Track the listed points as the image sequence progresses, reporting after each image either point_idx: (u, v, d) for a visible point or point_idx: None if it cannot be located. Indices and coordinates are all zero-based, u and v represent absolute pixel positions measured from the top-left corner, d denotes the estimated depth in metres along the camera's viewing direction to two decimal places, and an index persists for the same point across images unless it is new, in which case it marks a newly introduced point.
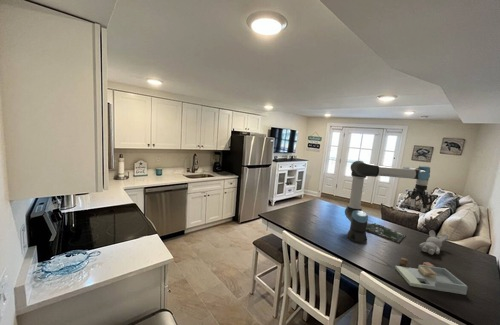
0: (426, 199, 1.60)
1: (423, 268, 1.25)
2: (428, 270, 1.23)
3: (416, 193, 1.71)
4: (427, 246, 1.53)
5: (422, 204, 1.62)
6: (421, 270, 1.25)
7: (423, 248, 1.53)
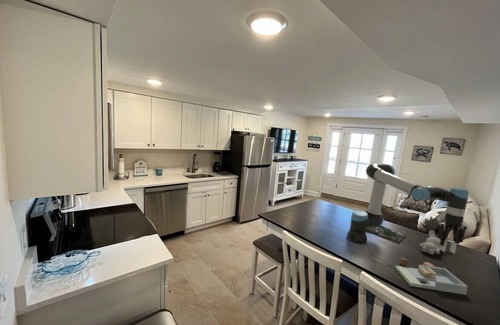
0: (439, 232, 1.20)
1: (423, 268, 1.25)
2: (428, 270, 1.23)
3: None
4: (427, 246, 1.53)
5: None
6: (421, 270, 1.25)
7: (423, 248, 1.53)
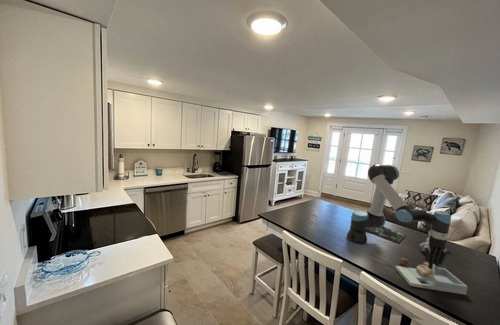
0: (426, 256, 1.23)
1: (421, 268, 1.25)
2: (426, 270, 1.24)
3: None
4: None
5: None
6: (419, 270, 1.25)
7: (423, 248, 1.53)
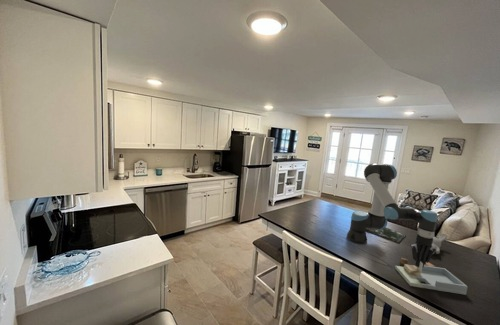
0: (413, 254, 1.24)
1: (408, 266, 1.26)
2: (413, 268, 1.25)
3: None
4: None
5: None
6: (406, 268, 1.26)
7: None
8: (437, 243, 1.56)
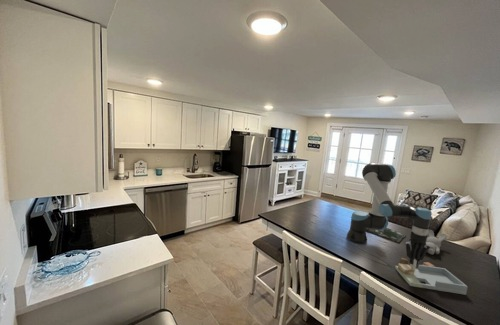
0: (407, 251, 1.25)
1: (402, 265, 1.27)
2: (407, 267, 1.25)
3: None
4: None
5: None
6: (400, 267, 1.26)
7: None
8: (437, 243, 1.56)
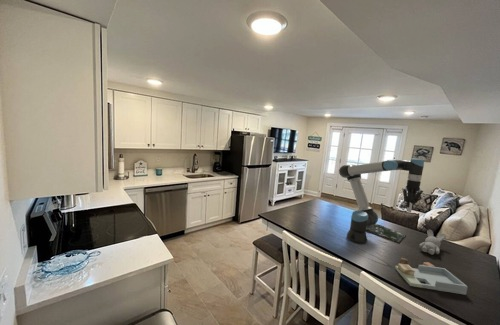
0: (404, 196, 1.47)
1: (402, 265, 1.27)
2: (407, 267, 1.25)
3: None
4: (427, 246, 1.52)
5: None
6: (400, 267, 1.26)
7: (423, 248, 1.53)
8: (437, 243, 1.56)
